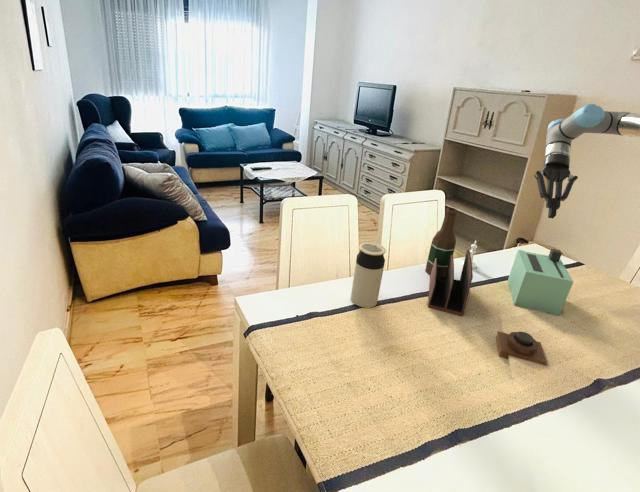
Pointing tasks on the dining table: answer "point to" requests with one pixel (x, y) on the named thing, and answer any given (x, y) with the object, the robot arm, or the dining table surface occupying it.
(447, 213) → the beer bottle
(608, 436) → the dining table surface
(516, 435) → the dining table surface
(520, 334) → the button
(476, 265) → the chess piece
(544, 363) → the button block
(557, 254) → the toaster slider
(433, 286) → the letter holder
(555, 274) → the toaster
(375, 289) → the travel mug
